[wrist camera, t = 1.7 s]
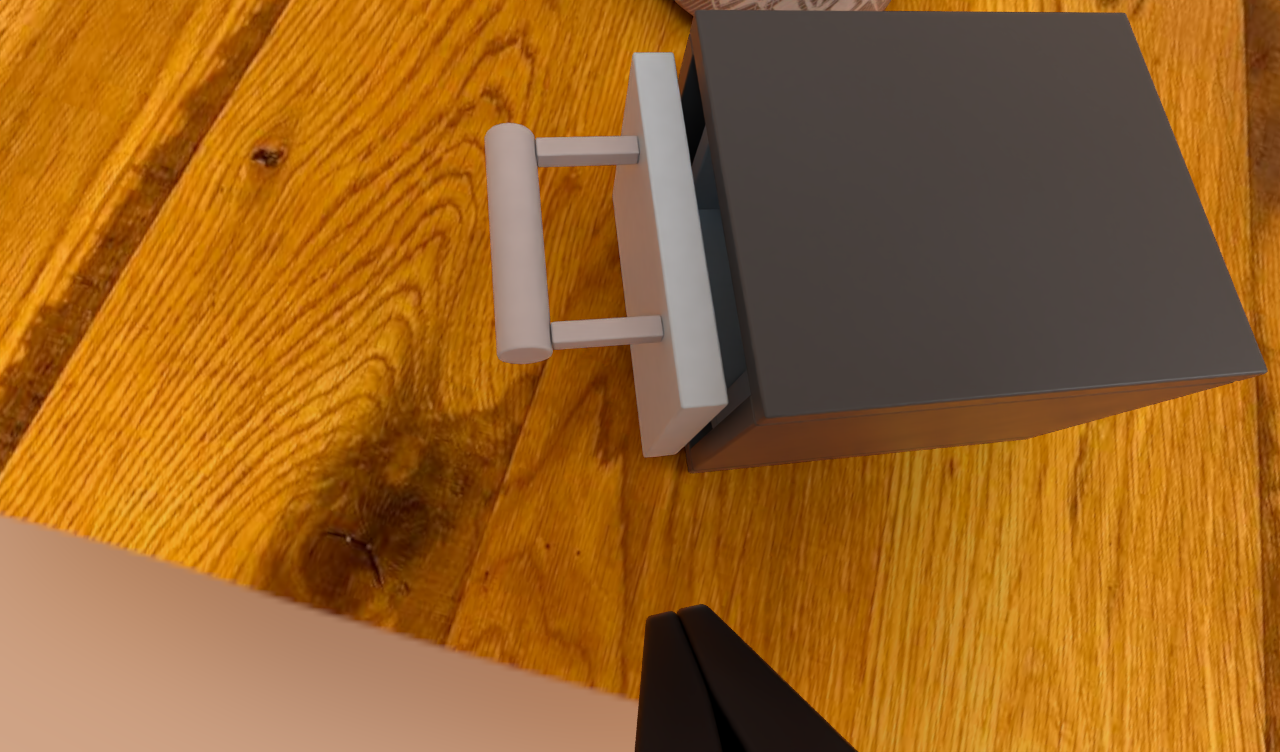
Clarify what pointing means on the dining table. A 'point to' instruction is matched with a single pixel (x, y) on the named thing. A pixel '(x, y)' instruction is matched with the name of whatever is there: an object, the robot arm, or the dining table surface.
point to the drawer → (629, 259)
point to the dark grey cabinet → (949, 230)
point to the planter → (783, 5)
